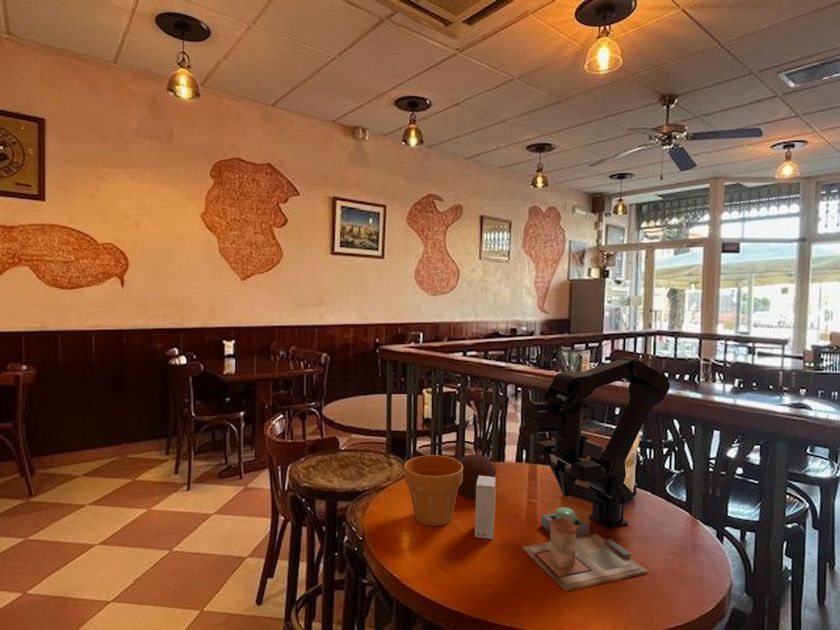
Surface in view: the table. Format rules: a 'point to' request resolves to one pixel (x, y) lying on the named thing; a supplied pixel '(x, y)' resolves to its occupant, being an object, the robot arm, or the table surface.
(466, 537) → the table surface
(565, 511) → the button
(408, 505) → the table surface
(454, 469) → the flower pot
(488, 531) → the skincare box
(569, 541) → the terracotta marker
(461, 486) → the muffin
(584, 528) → the button collar
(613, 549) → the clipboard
